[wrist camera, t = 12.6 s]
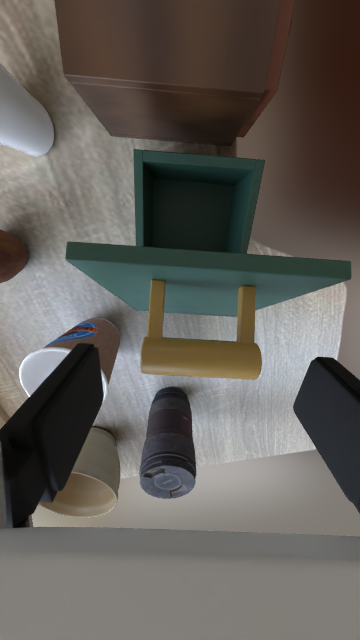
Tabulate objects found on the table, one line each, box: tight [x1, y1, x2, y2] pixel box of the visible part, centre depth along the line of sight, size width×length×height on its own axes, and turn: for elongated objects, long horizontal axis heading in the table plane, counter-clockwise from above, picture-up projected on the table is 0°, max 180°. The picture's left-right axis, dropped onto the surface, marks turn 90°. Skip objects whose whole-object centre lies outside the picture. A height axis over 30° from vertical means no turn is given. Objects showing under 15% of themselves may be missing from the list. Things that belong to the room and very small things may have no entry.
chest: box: [134, 149, 265, 254], centre depth 25 cm, size 15×12×8 cm
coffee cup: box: [19, 318, 120, 404], centre depth 29 cm, size 10×10×12 cm
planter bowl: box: [38, 427, 120, 517], centre depth 42 cm, size 16×16×11 cm
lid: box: [65, 242, 351, 380], centre depth 16 cm, size 15×12×5 cm
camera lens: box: [139, 387, 196, 499], centre depth 34 cm, size 8×8×15 cm
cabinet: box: [55, 0, 280, 146], centre depth 16 cm, size 14×12×11 cm
